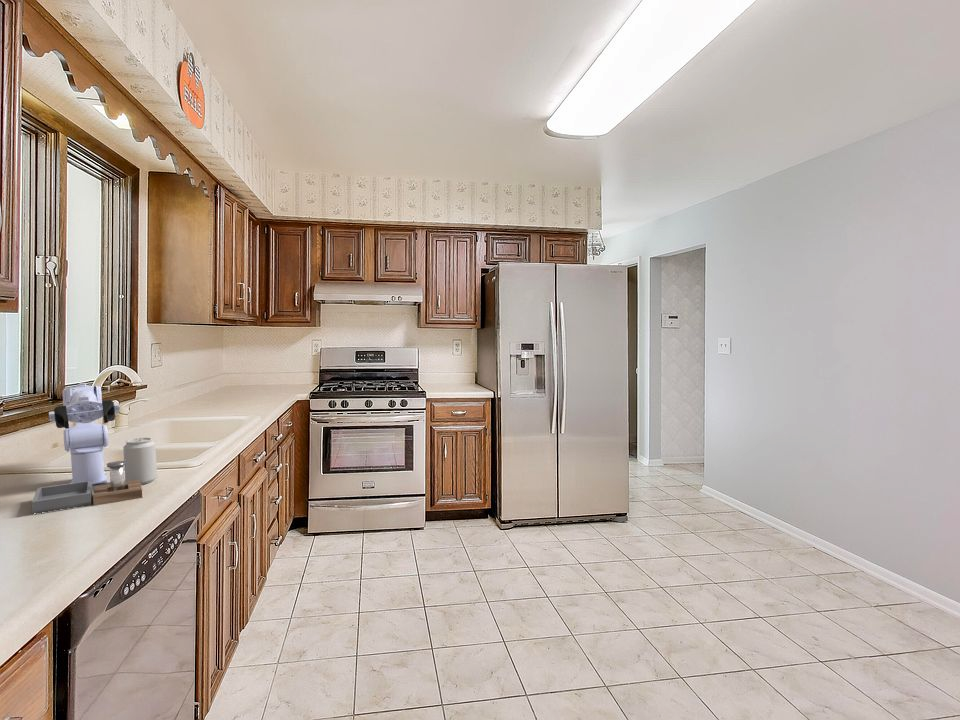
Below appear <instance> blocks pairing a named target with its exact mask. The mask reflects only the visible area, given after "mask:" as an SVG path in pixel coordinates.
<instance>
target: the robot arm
mask: <svg viewBox="0 0 960 720" xmlns="http://www.w3.org/2000/svg"><path fill="white" fill-rule="evenodd" d="M62 403H63V404H62V405H59V406H56V407H55V408H54V409H53V411H49V412H48V418H49V422H55V426H56V428H57V429H62V428H65V429H64V430H63V444H64V445H63V447H64V451H66V452H67V453H70V461H71V464H70V465H71V476H72V477H71V481H70V483H76V482H83V481H90V480H92V486H93V485H99V484H106V483H107V479H108V477H107V473H105V460H104V449H105V448H107V446H108V445H109V430H108V426H107V425H106V424H108V423H109V422H112V421H115V420H116V414H120V411H121V410H120V404H119V403H115V402H114V401H113V400H111V399H108V400H106V399H105V400H103V397H102V388H101V387H100V386H99V385H87V384H86V382H80V383H79V384H78V385H76V386H71V387H66V388H64V389H62ZM101 418H103V423H104V424H101V423H95V422H94V421H97V420H99V419H101ZM70 422H71V423H75V425H73V426H70V424H69V423H70Z"/></svg>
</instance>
